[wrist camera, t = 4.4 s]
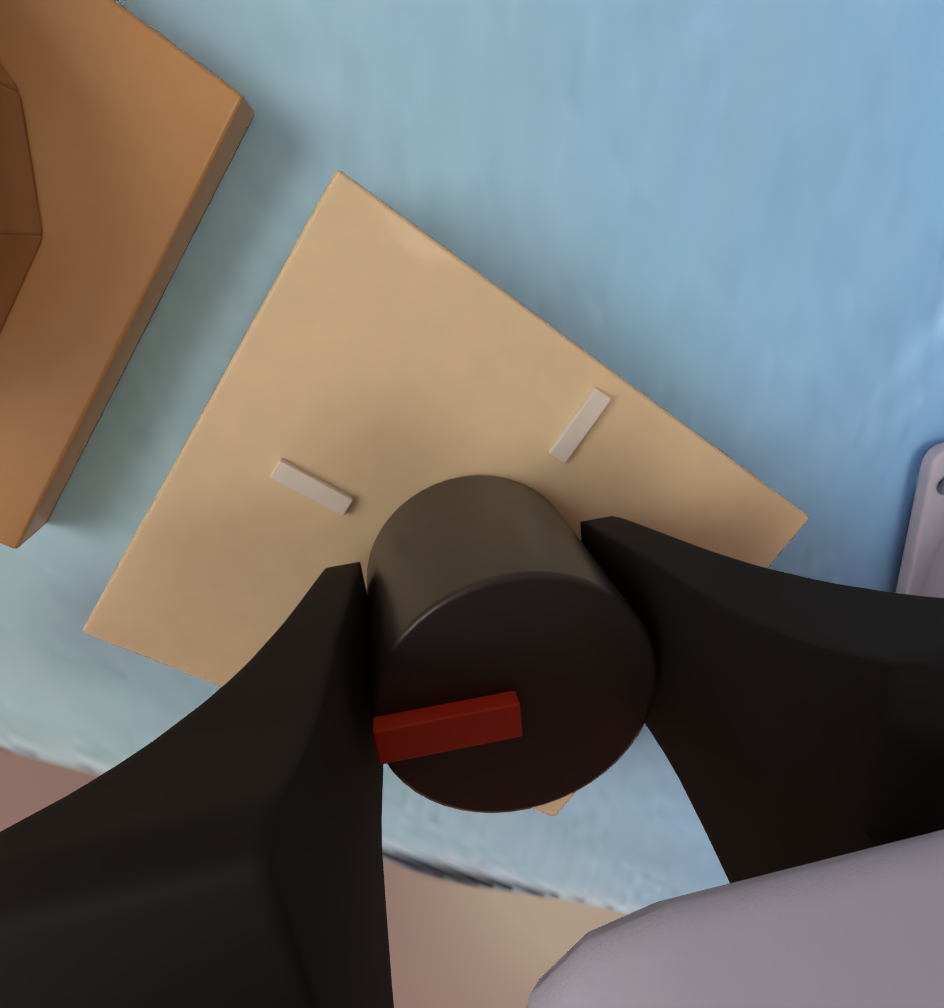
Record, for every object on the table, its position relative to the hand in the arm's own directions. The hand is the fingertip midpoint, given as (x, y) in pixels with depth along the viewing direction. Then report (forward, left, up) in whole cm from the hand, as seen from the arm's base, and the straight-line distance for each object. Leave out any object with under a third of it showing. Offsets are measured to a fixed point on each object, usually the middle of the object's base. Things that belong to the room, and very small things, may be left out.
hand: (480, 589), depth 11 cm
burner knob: (0, 0, -1) cm, 1 cm away
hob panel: (0, 0, -3) cm, 3 cm away
